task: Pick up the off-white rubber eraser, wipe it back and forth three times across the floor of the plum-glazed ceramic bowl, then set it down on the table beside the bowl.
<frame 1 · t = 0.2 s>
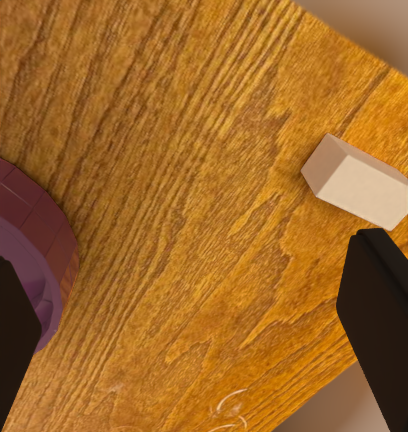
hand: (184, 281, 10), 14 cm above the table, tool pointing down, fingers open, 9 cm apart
eraser: (348, 169, 24), on the table
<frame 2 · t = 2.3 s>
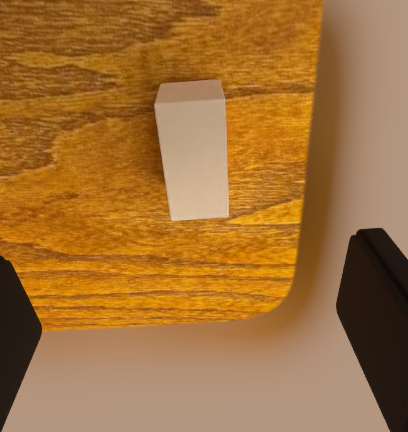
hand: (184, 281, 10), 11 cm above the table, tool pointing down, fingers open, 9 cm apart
eraser: (194, 138, 19), on the table
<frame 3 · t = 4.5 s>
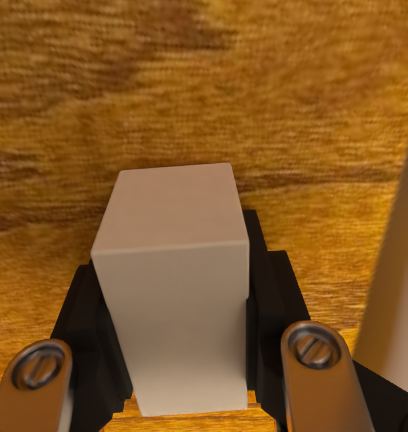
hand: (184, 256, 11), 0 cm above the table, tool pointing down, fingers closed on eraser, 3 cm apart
eraser: (185, 251, 11), on the table, touching gripper
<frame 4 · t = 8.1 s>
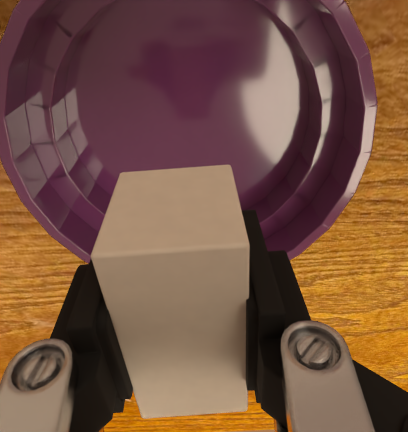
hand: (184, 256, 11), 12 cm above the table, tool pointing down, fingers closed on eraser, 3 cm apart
eraser: (185, 253, 11), point 12 cm above the table, touching gripper
bowl: (188, 121, 20), on the table
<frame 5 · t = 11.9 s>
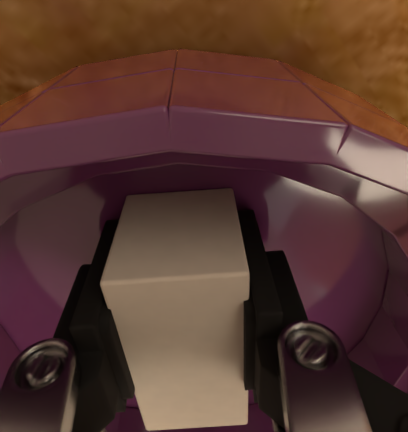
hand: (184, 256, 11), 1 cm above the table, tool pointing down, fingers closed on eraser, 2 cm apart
eraser: (188, 270, 11), point 1 cm above the table, touching bowl, gripper
bowl: (192, 300, 13), on the table
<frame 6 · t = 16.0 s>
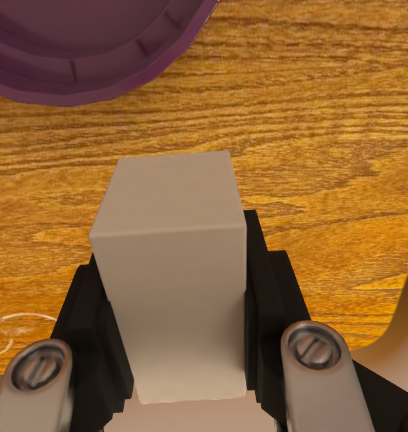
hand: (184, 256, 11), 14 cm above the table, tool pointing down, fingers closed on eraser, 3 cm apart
eraser: (184, 241, 11), point 14 cm above the table, touching gripper
when the fingers open (0 cm above the table, at t = 19.3 s): eraser stays where it is, on the table.
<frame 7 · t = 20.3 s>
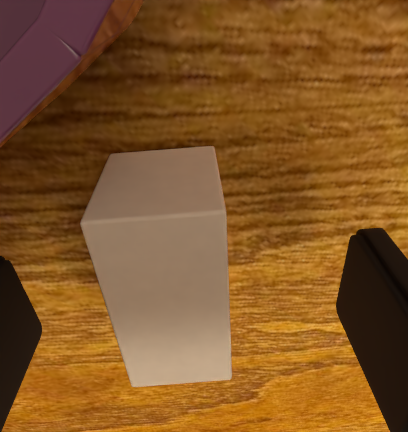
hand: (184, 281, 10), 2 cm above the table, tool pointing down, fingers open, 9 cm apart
eraser: (173, 233, 12), on the table
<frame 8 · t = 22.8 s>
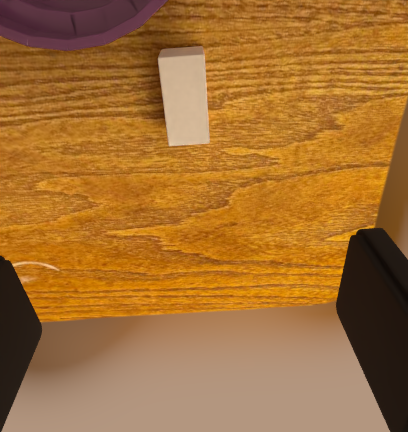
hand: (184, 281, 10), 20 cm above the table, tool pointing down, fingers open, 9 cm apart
eraser: (185, 90, 27), on the table
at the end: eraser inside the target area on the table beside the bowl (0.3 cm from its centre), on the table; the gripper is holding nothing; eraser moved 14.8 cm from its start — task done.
